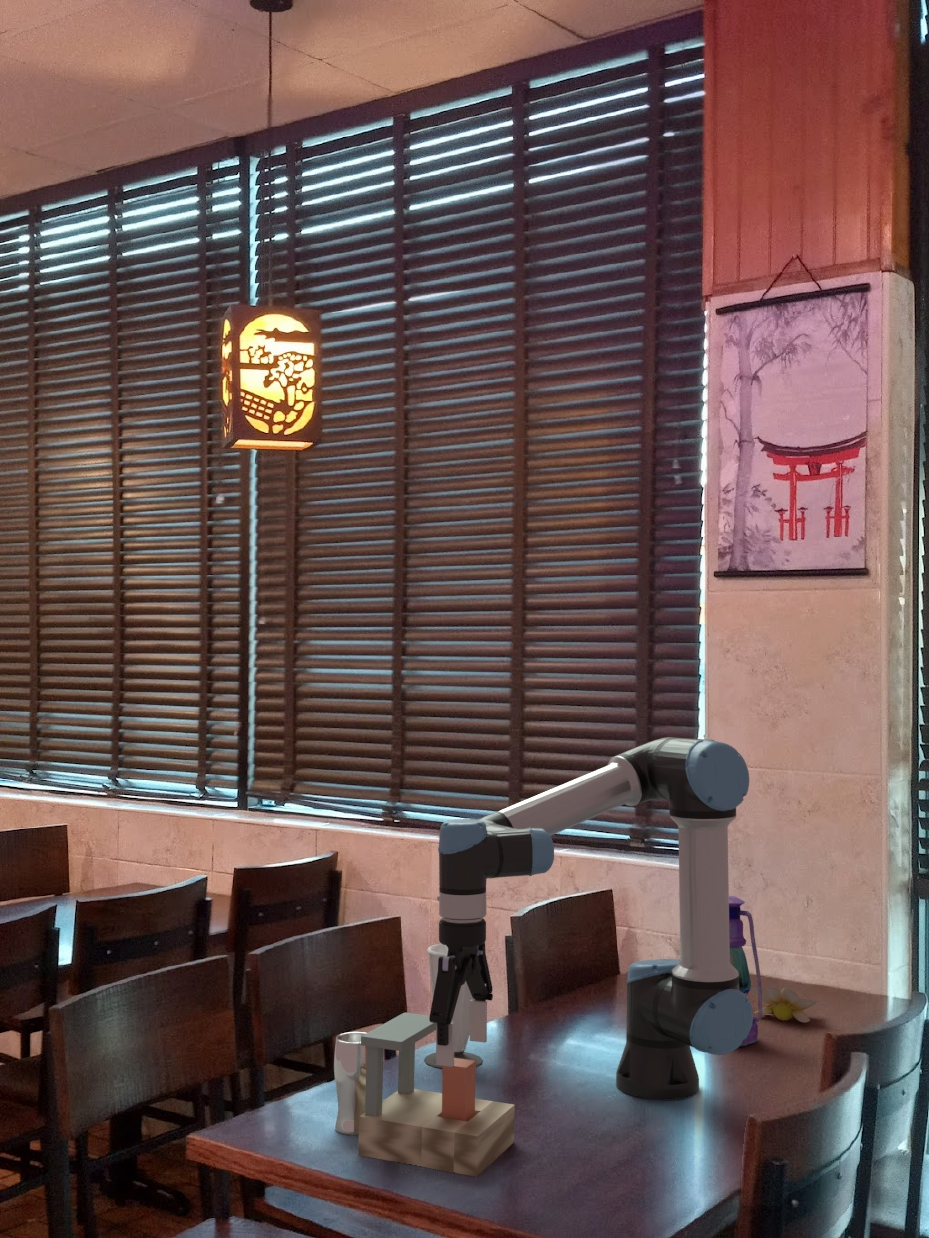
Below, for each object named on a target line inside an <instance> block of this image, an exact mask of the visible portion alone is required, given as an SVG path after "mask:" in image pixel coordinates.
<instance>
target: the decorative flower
mask: <svg viewBox="0 0 929 1238" xmlns="http://www.w3.org/2000/svg"><path fill="white" fill-rule="evenodd" d="M761 988H762V1002H764V1003H766V1004H767V1005H765V1006H762V1015H764V1014H773V1015H775V1017H776V1018H777V1019H778V1020H779V1019H781V1020H787V1021H789V1020H791V1019H792V1018H795V1019H796V1020H797V1021H798V1022H801V1023H809V1022H810V1021H811V1019H810V1017H808V1014H806V1013H805V1012H804V1011H805V1010H807V1009H809V1008H810V1007H813V1006H814V1005H817V1004H818V1003H819V1002H820V1000H813V999H810V998H809V999H808V998H800V996H799V994H798V993H797V991H795V990H792V989H791V988H789V987H787V986H786V987H783V988H782V989H780V988H779V987H777V986H769V987H768V988H767V989H765V988H763V987H761ZM749 992H752V993H753V994H754V996H756V997H757V998H758V986H753V987H752V986H751V988H750V991H749ZM753 1014H758V1010H756V1011H753ZM788 1019H789V1020H788ZM781 1020H780V1021H781Z"/></svg>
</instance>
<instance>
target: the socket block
mask: <svg viewBox="0 0 929 1238" xmlns="http://www.w3.org/2000/svg"><path fill="white" fill-rule="evenodd" d="M515 1105H516V1104H514V1103H513V1104H512V1103H505V1102H500V1101H494V1100H487V1099H481V1098H476V1097H475V1116H474V1117H473V1118H472V1119H470V1120H469V1121H468V1122H467V1121H461V1120H455V1119H449V1118H443V1117H442V1092H436V1091H431V1090H430V1091H429V1090H424V1089H423V1090H422V1089H419V1088H414V1091H413V1092H412V1093H410V1094H403V1093H398V1090H396V1091H394V1092H393V1093H392V1094H390V1095H389V1096H388V1097H386V1098H385V1099H382V1113H381V1114H380V1115H378V1116H377V1117H375V1116H369V1115H365V1113H363V1114H362V1115H360V1116H359V1135H358V1147H357V1148H358V1149H357V1150H358V1151H357V1152H358V1153H357V1155H358V1156H360V1157H361V1156H362V1157H366V1158H372V1159H377V1160H378V1159H379V1160H383V1161H388V1162H393V1161H394V1162H393V1163H398V1162H400V1164H404V1163H406V1165H409V1164H412V1165H411V1166H415V1165H417V1166H416V1167H420V1166H421V1167H422V1168H426V1169H433V1170H436V1171H442V1170H443V1172H450V1173H453V1172H455V1174H458V1175H459V1174H460V1175H464V1176H470V1175H471V1176H470V1177H475V1178H477V1177H478V1176H479V1175H480V1174H482V1173H483V1172H484V1171H486V1169H487V1168H488V1167H489V1166H490V1165H491V1164H493V1162H494V1161H495V1160H497V1159H498V1157H500V1156H501V1155H502V1154H503V1153H504V1152H506V1150H507V1149H508V1148H510V1147H511V1146H512V1145H513V1144H514V1143H515V1108H516V1106H515ZM483 1170H484V1171H483Z"/></svg>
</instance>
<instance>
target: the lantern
mask: <svg viewBox="0 0 929 1238" xmlns="http://www.w3.org/2000/svg"><path fill="white" fill-rule="evenodd" d="M743 904H746V901H744V900H742V899H741V898H739V897H737V896H734V895H729V945H730V963H731V965H732V966H733V967H734V968H735V969H736V970H737V971H738V973H739V990H740V992H742V993H744V994H745V995H746V997H747V996H748V994H749V992H751V991H750V988H752V981H751V976H750V971H749V966H748V961H747V957H746V953H745V951H744V949H743V948H744V947H745V946H746V945H747V940H746V938H744V922H743V920H742V919H741V916H743V917H747V920H748V925H749V934H750V935H749V936H750V942H751V949H752V950H751V951H752V955H753V961H754V965H755V973H756V981H757V987H758V997H757V998H758V999H757V1000H758V1002H757V1003H758V1013H757V1014H758V1016H757V1017H756V1016H755V1017H754V1016H753V1022H752V1026H751V1029H750V1032H749V1034H748V1036H747V1038H746V1039H745V1040H743V1041H742V1043H741V1045H740V1046H739V1047H746V1046H749V1045H750V1044H754V1043H757V1042H758V1035H759V1029H758V1028H759V1025H758V1022H759V1021H760V1020H761V1019H763V1014H762V1007H763V1000H762V988H763V987H762V978H761V976H762V975H761V970H760V964H759V963H760V961H759V957H758V956H759V955H758V949H757V944H756V938H755V937H756V935H755V928H754V927H755V926H754V920H753V919H754V918H753V915H752V913H751V912H749V911H748V910H742V909H741V906H742V905H743ZM748 1044H749V1045H748Z"/></svg>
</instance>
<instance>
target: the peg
mask: <svg viewBox="0 0 929 1238" xmlns="http://www.w3.org/2000/svg"><path fill="white" fill-rule="evenodd" d="M476 1072H477V1067H476V1061H473V1060H467V1059H460V1058H454V1066H453V1067H449V1066H443V1069H442V1083H441V1085H442V1086H441V1088H442V1091H441V1093H442V1117H443V1118H449V1119H455V1120H461V1121H467V1122H468V1121H469V1120H470V1119H472V1118H473V1117H474V1116H475V1098H476V1081H477V1080H476V1074H477V1073H476Z"/></svg>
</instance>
